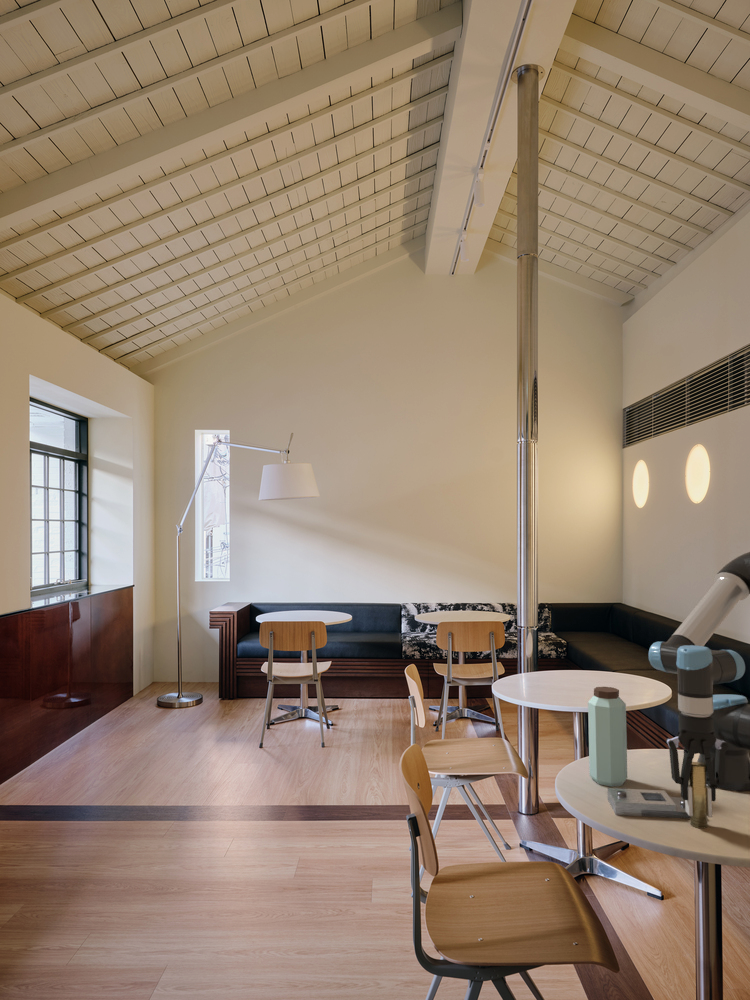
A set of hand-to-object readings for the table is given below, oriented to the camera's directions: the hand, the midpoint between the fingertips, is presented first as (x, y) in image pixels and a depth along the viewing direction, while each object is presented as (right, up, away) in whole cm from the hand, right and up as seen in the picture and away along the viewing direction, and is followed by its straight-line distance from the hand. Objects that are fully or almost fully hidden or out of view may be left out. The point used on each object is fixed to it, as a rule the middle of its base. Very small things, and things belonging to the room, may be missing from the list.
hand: (698, 813), depth 154 cm
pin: (0, -3, 0) cm, 3 cm away
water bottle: (-11, -4, +28) cm, 30 cm away
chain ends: (-7, -3, +9) cm, 12 cm away
